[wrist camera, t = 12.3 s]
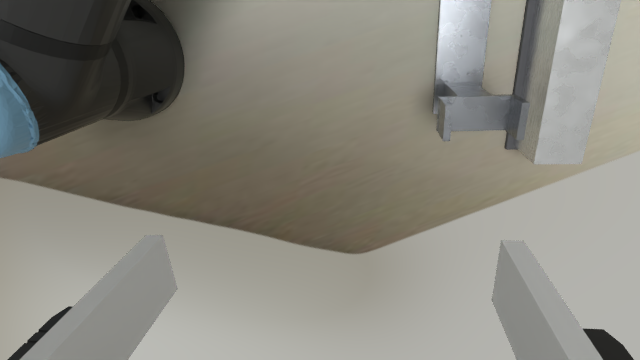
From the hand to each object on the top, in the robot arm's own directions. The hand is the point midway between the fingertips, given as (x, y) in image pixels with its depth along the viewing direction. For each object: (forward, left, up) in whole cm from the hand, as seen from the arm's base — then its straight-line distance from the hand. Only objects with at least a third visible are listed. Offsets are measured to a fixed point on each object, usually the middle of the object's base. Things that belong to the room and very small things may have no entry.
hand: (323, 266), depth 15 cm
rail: (+21, +7, -32) cm, 39 cm away
